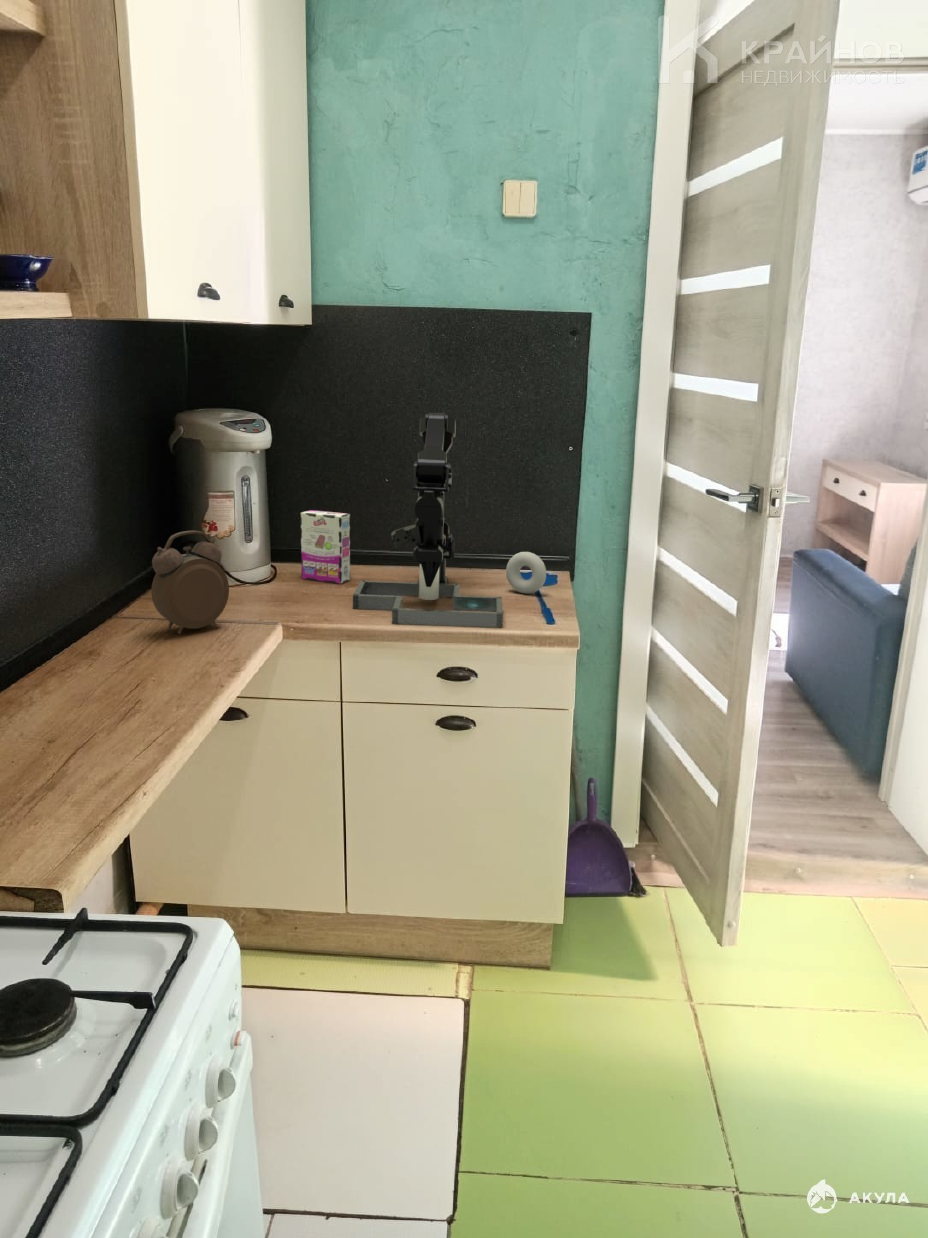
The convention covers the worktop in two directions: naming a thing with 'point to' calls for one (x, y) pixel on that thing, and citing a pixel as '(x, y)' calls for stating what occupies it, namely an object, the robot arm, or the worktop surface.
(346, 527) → the candy bar box
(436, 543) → the robot arm
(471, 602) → the channel
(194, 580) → the alarm clock
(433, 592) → the peg
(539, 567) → the donut
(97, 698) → the worktop surface
